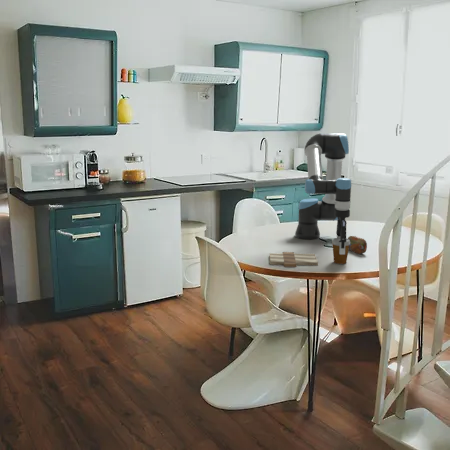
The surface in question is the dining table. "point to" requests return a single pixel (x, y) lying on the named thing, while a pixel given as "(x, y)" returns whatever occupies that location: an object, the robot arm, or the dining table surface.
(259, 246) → the dining table surface
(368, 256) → the dining table surface
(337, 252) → the disposable coffee cup
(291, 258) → the board
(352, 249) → the tin
